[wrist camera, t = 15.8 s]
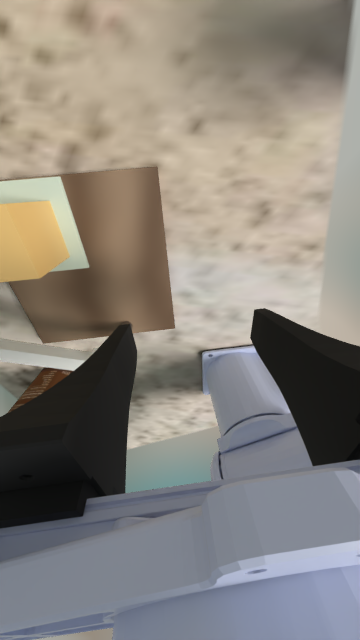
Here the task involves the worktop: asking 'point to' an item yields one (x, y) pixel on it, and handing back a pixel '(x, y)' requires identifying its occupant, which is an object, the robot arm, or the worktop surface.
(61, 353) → the strap
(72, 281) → the brown tray
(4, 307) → the worktop surface
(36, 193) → the sage mat
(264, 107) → the worktop surface
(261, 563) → the robot arm
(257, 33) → the worktop surface
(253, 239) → the worktop surface
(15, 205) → the plug block
